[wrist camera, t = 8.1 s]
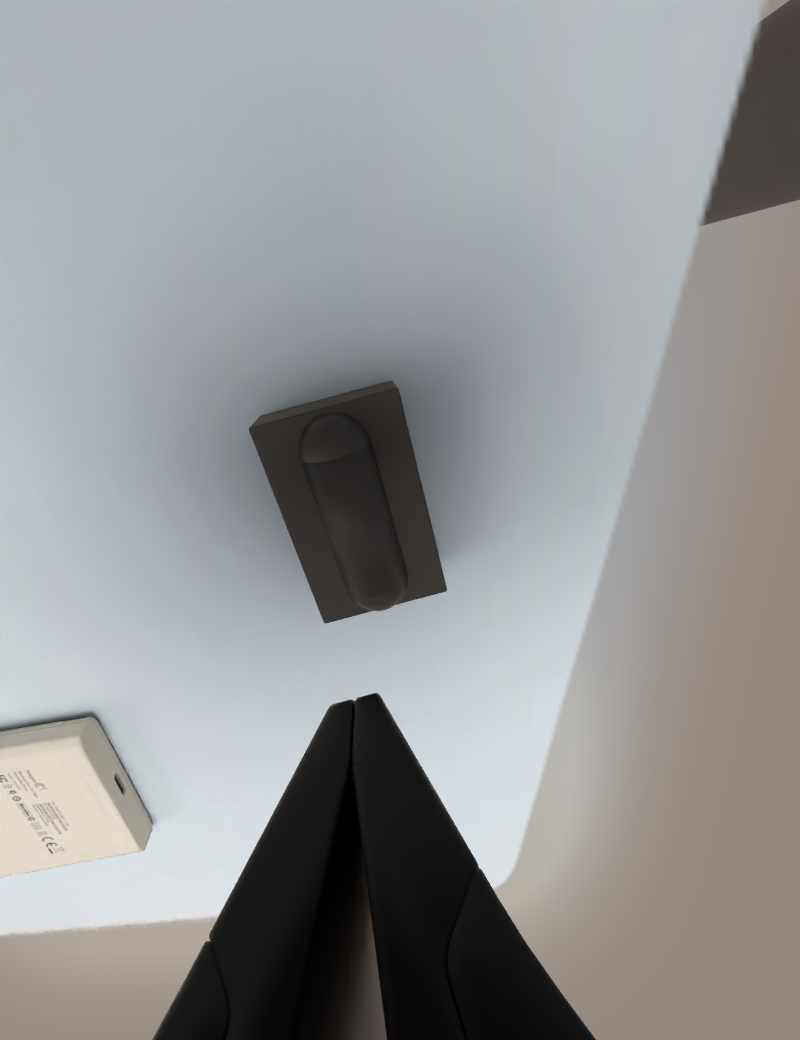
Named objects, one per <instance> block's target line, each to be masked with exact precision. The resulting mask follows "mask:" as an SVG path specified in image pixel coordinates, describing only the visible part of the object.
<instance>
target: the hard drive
mask: <svg viewBox="0 0 800 1040" xmlns="http://www.w3.org/2000/svg"><path fill="white" fill-rule="evenodd" d="M151 832H152V823H151V820H150V817H149V816H148V814H147V812H146V810H145V808H144V806H143V804H142V802H141V800H140V798H139V796H138V795H137V793H136V791H135V789H134V787H133V785H132V783H131V781H130V780H129V778H128V776H127V774H126V772H125V770H124V768H123V766H122V765H121V763H120V761H119V759H118V757H117V755H116V754H115V752H114V749H113V748H112V746H111V744H110V742H109V740H108V739H107V737H106V735H105V733H104V731H103V729H102V727H101V725H100V724H99V722H98V721H97V720H96V719H94V718H93V717H87V718H81V719H75V720H69V721H60V722H54V723H48V724H42V725H36V726H30V727H24V728H18V729H12V730H6V731H0V878H1V877H7V876H12V875H17V874H23V873H28V872H34V871H39V870H44V869H50V868H55V867H60V866H65V865H70V864H75V863H80V862H87V861H92V860H97V859H102V858H108V857H113V856H118V855H125V854H130V853H136V852H141V851H144V850H145V848H146V845H147V842H148V840H149V837H150V834H151Z"/></svg>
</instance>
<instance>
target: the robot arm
mask: <svg viewBox="0 0 800 1040" xmlns="http://www.w3.org/2000/svg"><path fill="white" fill-rule="evenodd" d="M209 938H210V941H206V942H205V943H204V945H203V947H202V949H201V951H200V953H199V955H198V956H197V958H196V960H195V962H194V964H193V966H192V968H191V970H190V972H189V973H188V975H187V977H186V979H185V981H184V983H183V985H182V986H181V988H180V990H179V992H178V994H177V995H176V997H175V999H174V1001H173V1003H172V1005H171V1006H170V1008H169V1010H168V1012H167V1014H166V1015H165V1017H164V1019H163V1021H162V1023H161V1025H160V1026H159V1028H158V1030H157V1032H156V1034H155V1036H154V1037H153V1039H152V1040H596V1039H595V1038H594V1036H593V1035H592V1034H591V1032H590V1031H589V1030H588V1028H587V1027H586V1026H585V1024H584V1023H583V1022H582V1020H581V1019H580V1018H579V1016H578V1015H577V1014H576V1012H575V1011H574V1010H573V1008H572V1007H571V1005H570V1004H569V1003H568V1001H567V1000H566V999H565V997H564V996H563V995H562V994H561V992H560V990H559V989H558V988H557V986H556V985H555V983H554V982H553V981H552V979H551V978H550V976H549V975H548V973H547V972H546V971H545V969H544V968H543V966H542V965H541V964H540V962H539V961H538V959H537V958H536V956H535V955H534V954H533V952H532V951H531V949H530V948H529V947H528V945H527V944H526V942H525V941H524V939H523V937H522V936H521V934H520V933H519V931H518V929H517V928H516V926H515V925H514V923H513V922H512V920H511V918H510V917H509V915H508V913H507V912H506V910H505V909H504V907H503V905H502V904H501V902H500V901H499V899H498V897H497V896H496V894H495V892H494V890H493V889H492V887H491V885H490V883H489V882H488V880H487V878H486V876H485V875H484V873H483V871H482V870H481V869H479V867H478V864H477V862H476V860H475V858H474V856H473V855H472V853H471V851H470V850H469V848H468V846H467V844H466V843H465V841H464V839H463V837H462V836H461V834H460V832H459V831H458V829H457V827H456V825H455V824H454V822H453V820H452V819H451V817H450V815H449V813H448V812H447V810H446V808H445V807H444V805H443V803H442V801H441V800H440V798H439V796H438V794H437V793H436V791H435V789H434V788H433V786H432V784H431V782H430V781H429V779H428V777H427V776H426V774H425V772H424V770H423V769H422V767H421V765H420V764H419V762H418V760H417V758H416V757H415V755H414V753H413V751H412V750H411V748H410V746H409V745H408V743H407V741H406V739H405V738H404V736H403V734H402V733H401V731H400V729H399V727H398V726H397V724H396V722H395V720H394V719H393V717H392V715H391V714H390V712H389V710H388V708H387V707H386V705H385V703H384V702H383V700H382V698H381V696H380V695H379V694H378V693H373V694H370V695H366V696H362V697H359V698H357V699H356V700H355V701H353V700H347V701H343V702H340V703H336V704H333V705H331V706H330V707H329V709H328V710H327V712H326V714H325V716H324V718H323V720H322V722H321V724H320V725H319V727H318V729H317V731H316V733H315V735H314V737H313V739H312V741H311V742H310V744H309V746H308V748H307V750H306V752H305V754H304V756H303V758H302V760H301V761H300V763H299V765H298V767H297V769H296V771H295V773H294V775H293V777H292V779H291V780H290V782H289V784H288V786H287V788H286V790H285V792H284V794H283V796H282V797H281V799H280V801H279V803H278V805H277V807H276V809H275V811H274V813H273V815H272V816H271V818H270V820H269V822H268V824H267V826H266V828H265V830H264V832H263V834H262V835H261V837H260V839H259V841H258V843H257V845H256V847H255V849H254V851H253V853H252V854H251V856H250V858H249V860H248V862H247V864H246V866H245V868H244V870H243V871H242V873H241V875H240V877H239V879H238V881H237V883H236V885H235V887H234V889H233V890H232V892H231V894H230V896H229V898H228V900H227V902H226V904H225V906H224V908H223V909H222V911H221V913H220V915H219V917H218V919H217V921H216V923H215V925H214V927H213V929H212V930H211V932H210V935H209Z"/></svg>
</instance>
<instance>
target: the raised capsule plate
mask: <svg viewBox="0 0 800 1040" xmlns="http://www.w3.org/2000/svg"><path fill="white" fill-rule="evenodd" d="M249 431H250V434H251V437H252V439H253V442H254V444H255V447H256V449H257V452H258V455H259V457H260V460H261V462H262V465H263V467H264V470H265V473H266V475H267V478H268V480H269V483H270V485H271V488H272V490H273V493H274V496H275V498H276V501H277V503H278V506H279V508H280V511H281V514H282V516H283V519H284V521H285V524H286V526H287V529H288V532H289V534H290V537H291V539H292V542H293V544H294V547H295V550H296V552H297V555H298V557H299V560H300V562H301V565H302V567H303V570H304V573H305V575H306V578H307V580H308V583H309V585H310V588H311V591H312V593H313V596H314V598H315V601H316V603H317V606H318V609H319V611H320V614H321V616H322V619H323V621H324V623H329V622H333V621H337V620H340V619H344V618H348V617H352V616H355V615H359V614H363V613H367V612H370V611H381V610H386V609H388V608H391V607H392V606H394V605H397V604H400V603H404V602H408V601H411V600H415V599H419V598H423V597H426V596H430V595H434V594H438V593H441V592H445V591H446V590H447V588H446V583H445V579H444V575H443V571H442V567H441V563H440V559H439V554H438V550H437V546H436V542H435V538H434V534H433V530H432V525H431V521H430V517H429V513H428V509H427V505H426V501H425V496H424V492H423V488H422V484H421V480H420V476H419V471H418V467H417V463H416V459H415V455H414V451H413V447H412V442H411V438H410V434H409V430H408V426H407V422H406V418H405V413H404V409H403V405H402V401H401V397H400V393H399V389H398V388H397V386H396V385H395V384H394V382H393V381H388V382H384V383H381V384H377V385H373V386H370V387H366V388H362V389H359V390H355V391H351V392H347V393H344V394H340V395H336V396H333V397H329V398H325V399H322V400H318V401H314V402H311V403H307V404H303V405H299V406H296V407H292V408H288V409H285V410H281V411H277V412H274V413H270V414H266V415H263V416H260V417H259V418H258V419H257V420H256V421H255V422H254V423H253V424H252V425H251V427H250V428H249Z"/></svg>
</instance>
